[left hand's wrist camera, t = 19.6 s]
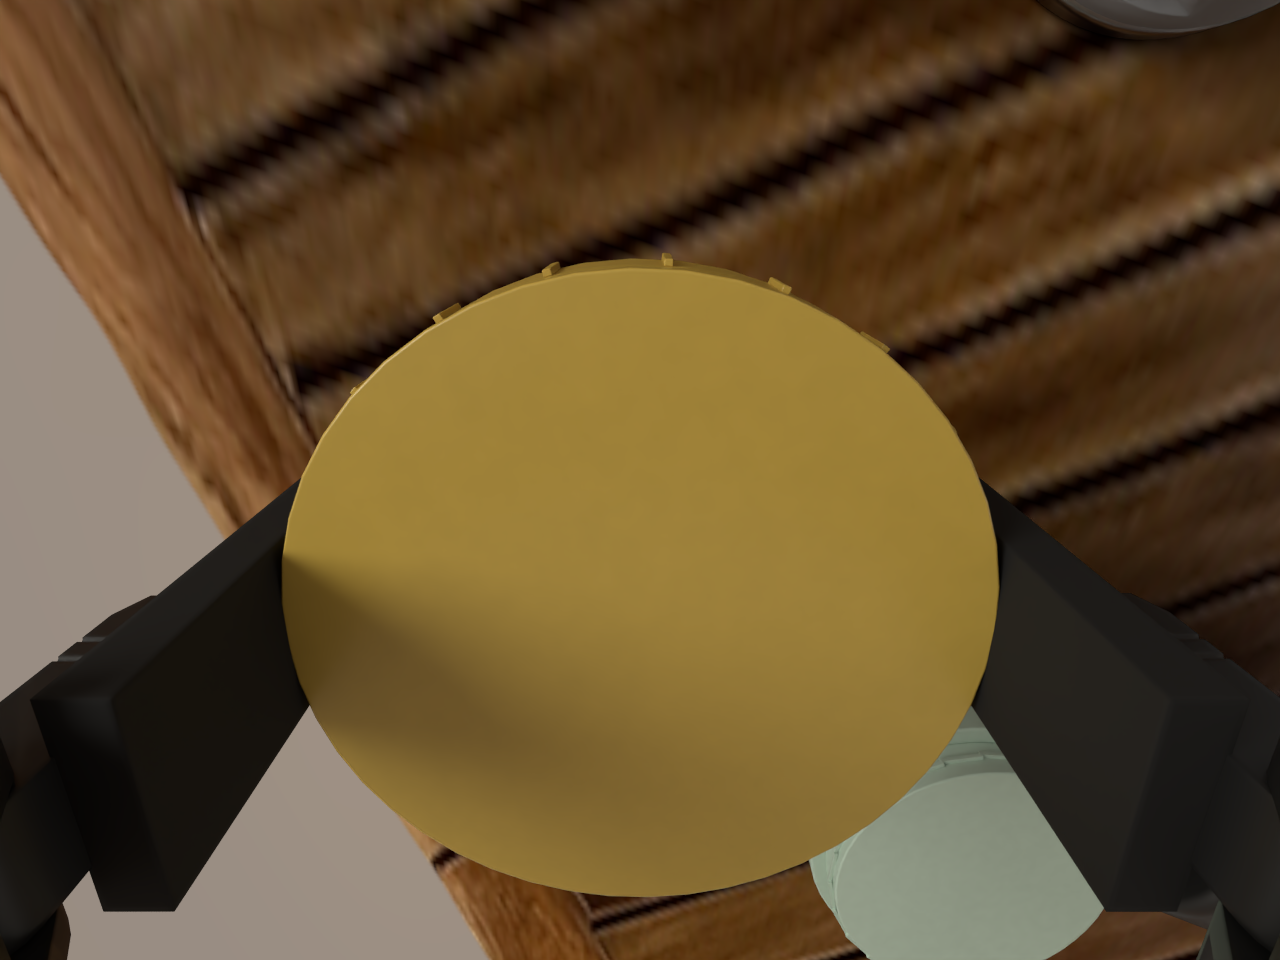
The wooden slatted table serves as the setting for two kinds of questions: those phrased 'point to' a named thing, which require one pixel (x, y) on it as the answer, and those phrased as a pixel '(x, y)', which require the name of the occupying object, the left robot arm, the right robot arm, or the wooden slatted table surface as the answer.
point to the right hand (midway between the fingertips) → (792, 665)
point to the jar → (958, 867)
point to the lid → (640, 579)
